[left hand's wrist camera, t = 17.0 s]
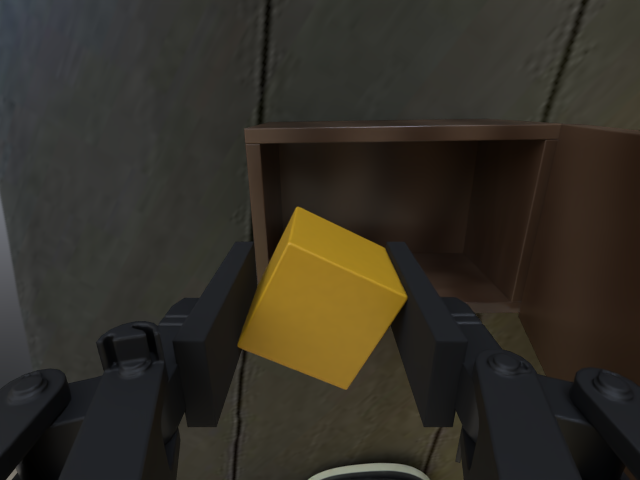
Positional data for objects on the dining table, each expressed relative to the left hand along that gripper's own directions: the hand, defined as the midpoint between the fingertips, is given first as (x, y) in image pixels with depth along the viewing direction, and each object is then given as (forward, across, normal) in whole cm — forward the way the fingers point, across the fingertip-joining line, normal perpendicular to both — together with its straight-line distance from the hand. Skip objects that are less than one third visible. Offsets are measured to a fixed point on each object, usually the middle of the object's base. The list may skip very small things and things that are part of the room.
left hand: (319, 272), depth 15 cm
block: (0, 0, 0) cm, 0 cm away
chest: (+15, +4, 0) cm, 16 cm away
